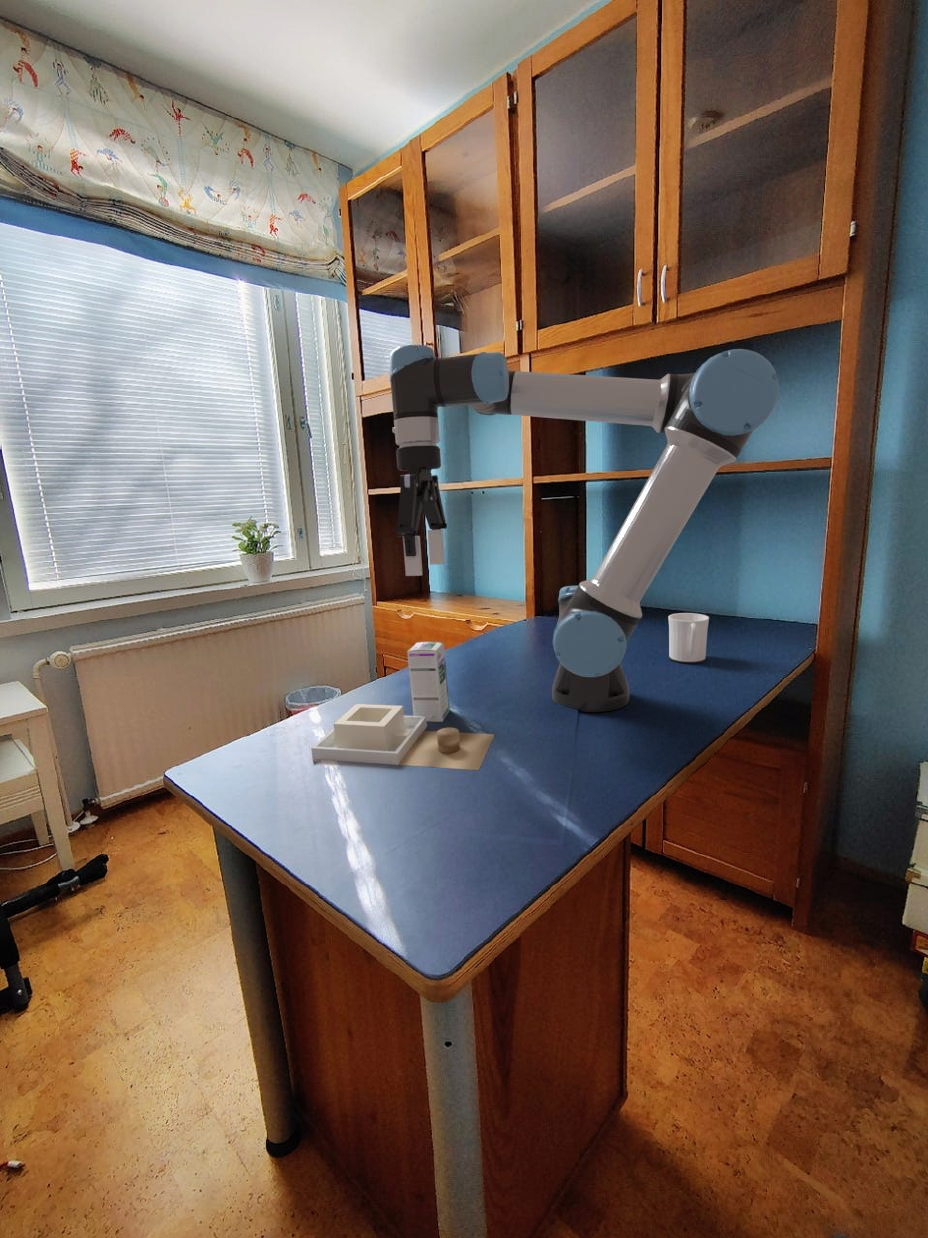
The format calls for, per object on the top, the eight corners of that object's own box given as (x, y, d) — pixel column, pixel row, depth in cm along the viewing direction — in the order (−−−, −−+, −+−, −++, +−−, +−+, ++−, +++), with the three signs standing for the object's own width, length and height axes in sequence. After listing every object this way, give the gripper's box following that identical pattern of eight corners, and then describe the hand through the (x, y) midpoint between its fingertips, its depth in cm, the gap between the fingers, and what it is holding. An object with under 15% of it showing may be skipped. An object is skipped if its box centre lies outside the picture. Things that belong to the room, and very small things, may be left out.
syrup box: (443, 724, 106) (438, 649, 103) (412, 723, 107) (406, 649, 104) (450, 713, 112) (445, 641, 108) (420, 712, 113) (415, 641, 110)
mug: (663, 654, 141) (664, 613, 139) (701, 653, 140) (703, 612, 138) (673, 667, 131) (674, 624, 129) (714, 667, 130) (716, 623, 127)
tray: (427, 729, 105) (426, 716, 104) (398, 768, 90) (397, 753, 90) (351, 725, 108) (350, 713, 108) (312, 762, 94) (311, 748, 94)
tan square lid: (495, 737, 100) (494, 718, 99) (478, 773, 87) (477, 752, 86) (423, 733, 103) (422, 715, 102) (398, 768, 90) (396, 747, 90)
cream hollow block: (358, 729, 105) (356, 703, 104) (418, 732, 102) (416, 706, 101) (336, 751, 96) (333, 723, 95) (401, 755, 93) (398, 727, 92)
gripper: (419, 451, 110) (427, 560, 115) (368, 443, 87) (380, 581, 92) (457, 448, 109) (463, 559, 113) (415, 439, 85) (425, 580, 90)
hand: (426, 569), depth 102 cm, fingers open, 13 cm apart
